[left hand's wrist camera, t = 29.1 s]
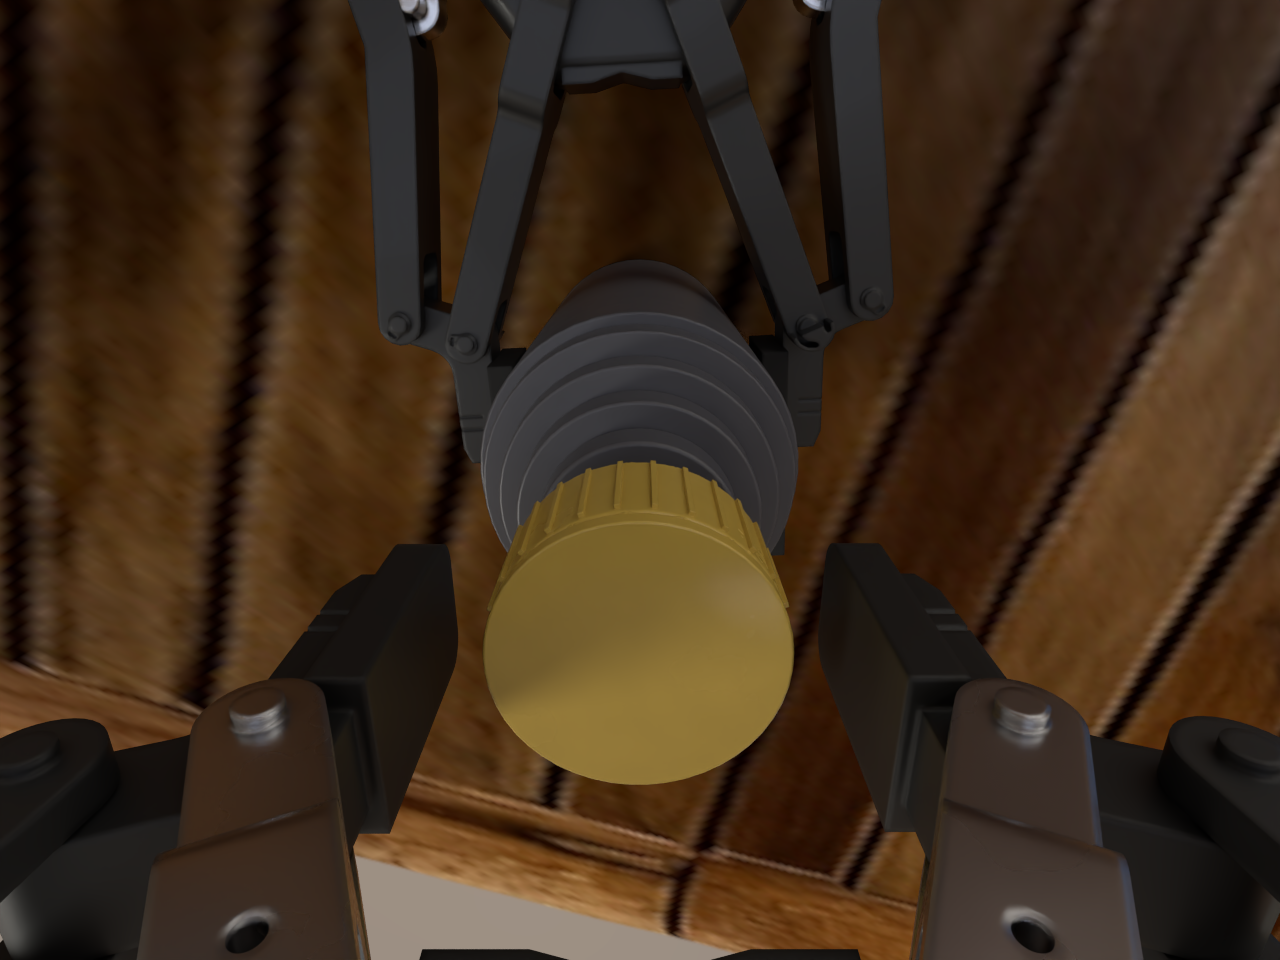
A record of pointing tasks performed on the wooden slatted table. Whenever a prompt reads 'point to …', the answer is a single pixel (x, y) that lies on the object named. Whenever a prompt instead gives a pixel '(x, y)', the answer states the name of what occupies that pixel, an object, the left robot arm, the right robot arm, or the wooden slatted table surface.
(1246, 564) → the wooden slatted table surface
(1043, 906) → the left robot arm
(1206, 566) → the wooden slatted table surface
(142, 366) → the wooden slatted table surface
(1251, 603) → the wooden slatted table surface
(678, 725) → the cap
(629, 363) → the bottle
